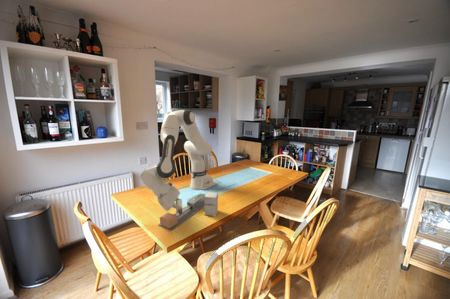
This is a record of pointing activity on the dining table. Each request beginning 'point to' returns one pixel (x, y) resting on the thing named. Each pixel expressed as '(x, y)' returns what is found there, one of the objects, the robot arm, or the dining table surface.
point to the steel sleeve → (196, 201)
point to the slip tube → (181, 211)
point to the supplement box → (211, 203)
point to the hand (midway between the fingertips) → (180, 206)
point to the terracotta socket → (168, 220)
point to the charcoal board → (184, 217)
